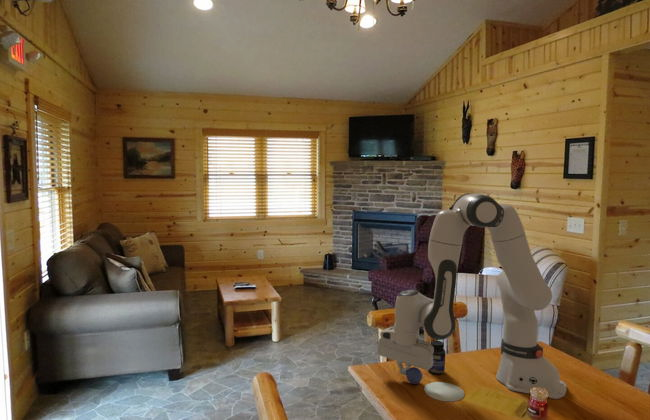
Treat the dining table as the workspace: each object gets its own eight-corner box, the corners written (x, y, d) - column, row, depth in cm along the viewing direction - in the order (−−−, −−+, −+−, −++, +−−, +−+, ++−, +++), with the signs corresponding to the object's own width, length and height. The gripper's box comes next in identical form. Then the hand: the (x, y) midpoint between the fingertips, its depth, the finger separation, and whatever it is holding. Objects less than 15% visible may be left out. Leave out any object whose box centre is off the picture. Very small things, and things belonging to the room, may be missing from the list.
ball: (413, 380, 161) (426, 378, 158) (407, 387, 157) (421, 385, 154) (407, 365, 162) (420, 363, 159) (401, 372, 157) (415, 370, 154)
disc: (469, 389, 154) (469, 389, 154) (456, 405, 143) (456, 405, 143) (433, 379, 161) (433, 378, 161) (418, 393, 151) (418, 392, 151)
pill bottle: (432, 376, 164) (433, 346, 163) (424, 368, 169) (425, 340, 168) (447, 374, 165) (449, 345, 164) (439, 367, 171) (440, 338, 170)
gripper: (437, 341, 155) (435, 379, 157) (384, 326, 167) (382, 362, 169) (430, 346, 150) (427, 386, 152) (376, 331, 162) (374, 368, 163)
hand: (403, 373), depth 160 cm, fingers closed
